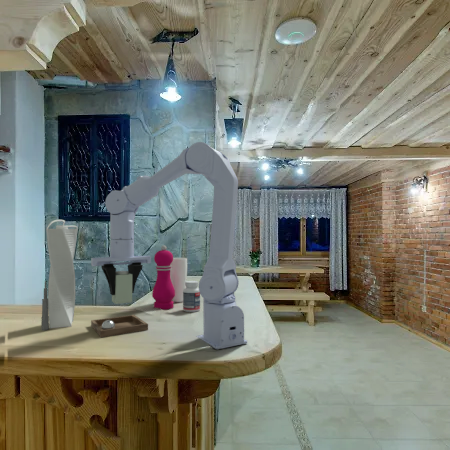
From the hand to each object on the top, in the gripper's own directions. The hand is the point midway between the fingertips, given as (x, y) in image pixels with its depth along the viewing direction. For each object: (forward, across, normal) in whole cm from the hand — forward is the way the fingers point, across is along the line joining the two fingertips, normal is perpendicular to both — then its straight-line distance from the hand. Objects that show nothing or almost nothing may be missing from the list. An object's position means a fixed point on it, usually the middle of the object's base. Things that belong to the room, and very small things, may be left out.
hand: (122, 293), depth 87 cm
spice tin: (+2, 0, 0) cm, 2 cm away
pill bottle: (+9, -24, -9) cm, 27 cm away
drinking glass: (+9, -26, -24) cm, 37 cm away
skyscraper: (+9, +13, -10) cm, 19 cm away
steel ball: (+8, +4, +4) cm, 10 cm away
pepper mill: (+9, -18, -17) cm, 26 cm away
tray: (+9, +1, +1) cm, 9 cm away
